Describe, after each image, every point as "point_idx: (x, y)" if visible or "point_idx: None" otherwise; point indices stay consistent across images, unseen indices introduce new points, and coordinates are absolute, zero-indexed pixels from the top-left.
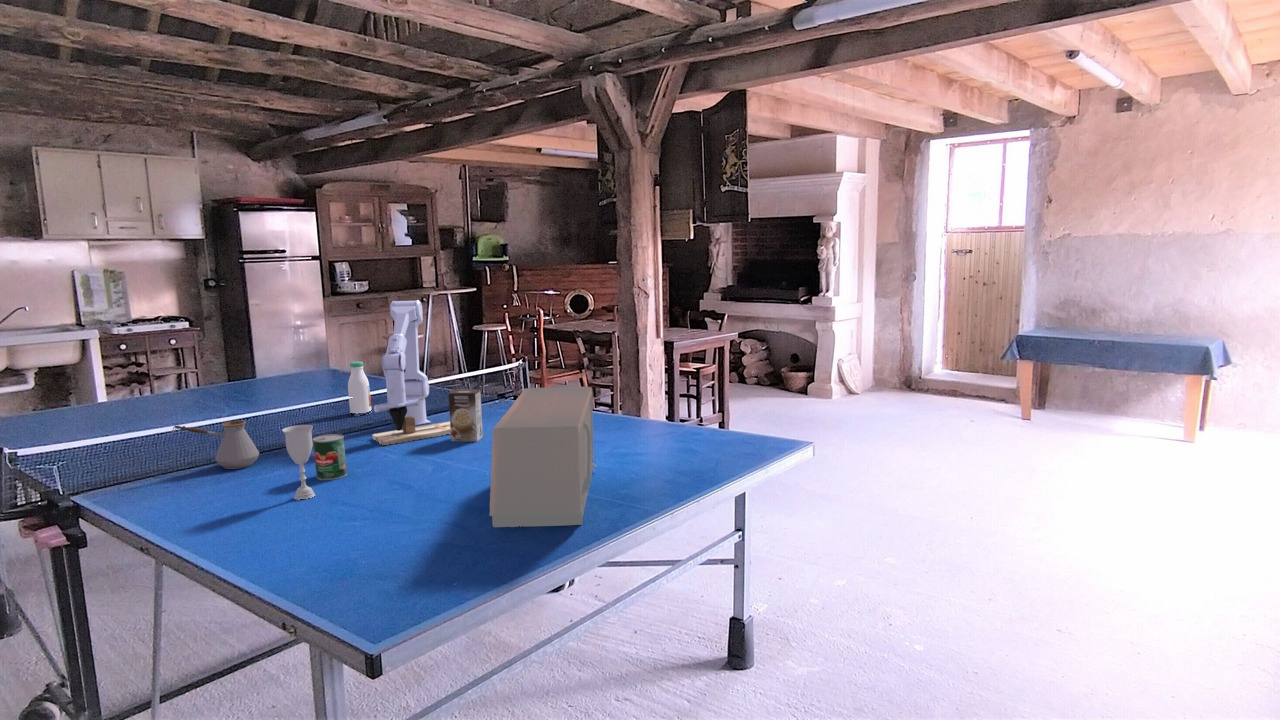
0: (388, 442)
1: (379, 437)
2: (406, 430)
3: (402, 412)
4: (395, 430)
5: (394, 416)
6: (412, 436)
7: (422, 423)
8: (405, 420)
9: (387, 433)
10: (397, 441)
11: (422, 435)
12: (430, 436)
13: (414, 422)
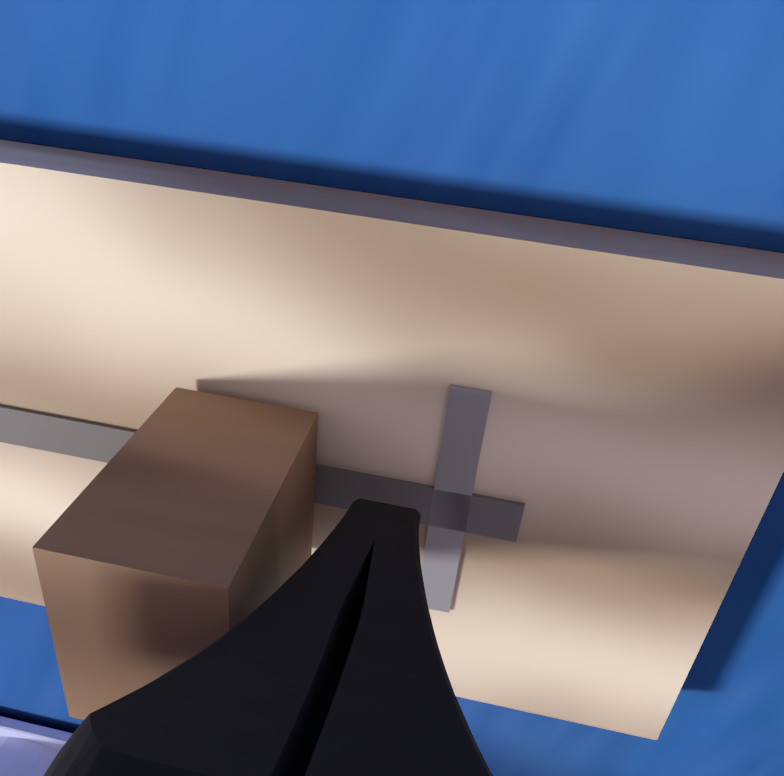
0: (755, 262)
1: (707, 558)
2: (303, 439)
3: (225, 746)
4: None
5: (466, 738)
6: (303, 205)
7: (5, 722)
8: (239, 573)
9: (498, 637)
10: (584, 235)
11: (132, 178)
12: (26, 148)
13: (97, 483)
